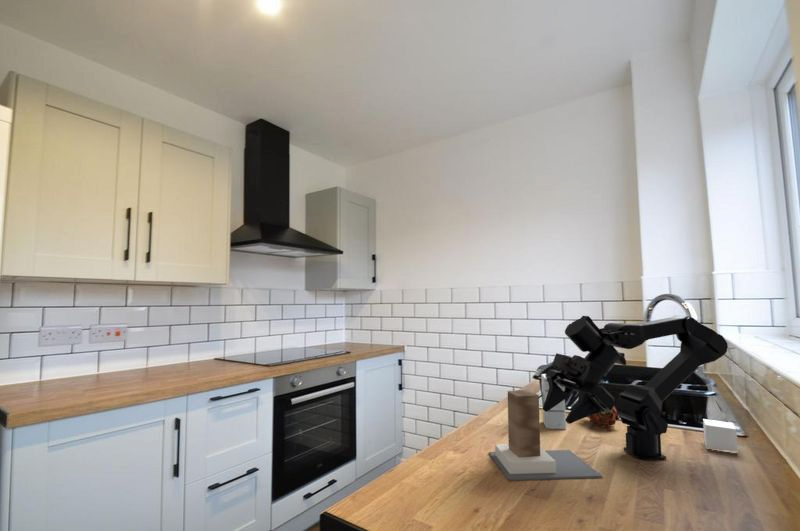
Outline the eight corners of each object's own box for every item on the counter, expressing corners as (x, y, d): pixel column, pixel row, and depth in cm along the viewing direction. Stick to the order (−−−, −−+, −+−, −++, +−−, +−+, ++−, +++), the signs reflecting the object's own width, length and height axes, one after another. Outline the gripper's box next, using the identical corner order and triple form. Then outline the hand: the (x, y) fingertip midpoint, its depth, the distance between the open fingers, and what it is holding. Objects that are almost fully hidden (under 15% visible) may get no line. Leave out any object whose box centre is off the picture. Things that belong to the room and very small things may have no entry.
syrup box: (566, 429, 112) (565, 377, 114) (544, 428, 114) (543, 376, 115) (562, 423, 118) (561, 374, 119) (541, 422, 119) (540, 373, 120)
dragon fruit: (613, 438, 110) (588, 431, 121) (633, 418, 112) (607, 413, 123) (593, 413, 111) (570, 407, 122) (613, 393, 113) (589, 390, 124)
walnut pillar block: (528, 447, 92) (527, 390, 93) (540, 455, 87) (538, 395, 88) (508, 448, 91) (507, 390, 92) (519, 457, 86) (517, 396, 87)
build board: (569, 451, 97) (569, 439, 97) (602, 477, 83) (602, 463, 83) (488, 453, 95) (488, 441, 95) (508, 480, 81) (508, 466, 81)
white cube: (704, 442, 103) (702, 418, 104) (734, 447, 100) (732, 422, 101) (706, 449, 98) (705, 424, 99) (738, 455, 95) (736, 429, 95)
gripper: (551, 337, 102) (512, 383, 99) (600, 346, 84) (554, 402, 81) (579, 367, 103) (542, 413, 100) (634, 382, 85) (590, 439, 82)
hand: (555, 416), depth 91 cm, fingers open, 9 cm apart
